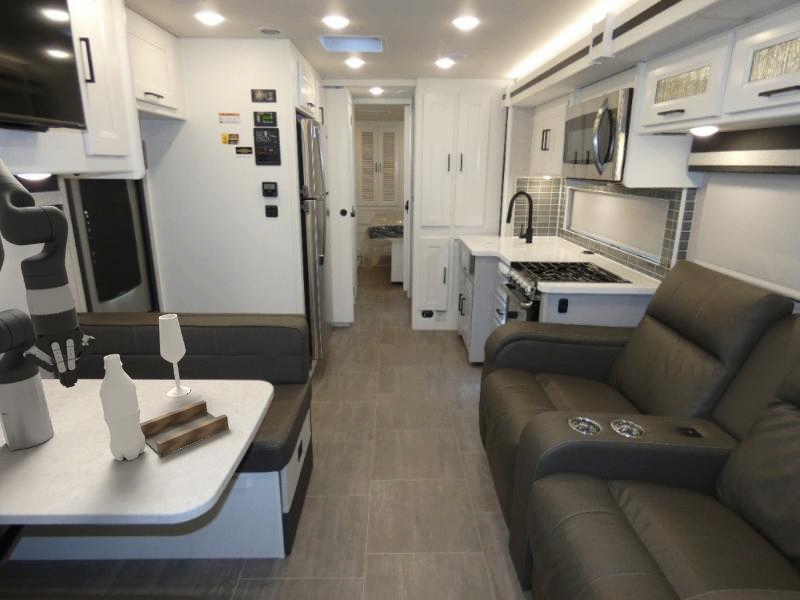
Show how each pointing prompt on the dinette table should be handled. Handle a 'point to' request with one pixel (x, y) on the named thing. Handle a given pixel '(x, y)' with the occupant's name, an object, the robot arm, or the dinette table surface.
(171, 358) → the champagne flute
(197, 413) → the walnut cradle
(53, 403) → the dinette table surface
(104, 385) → the water bottle
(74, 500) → the dinette table surface
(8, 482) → the dinette table surface
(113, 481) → the dinette table surface
